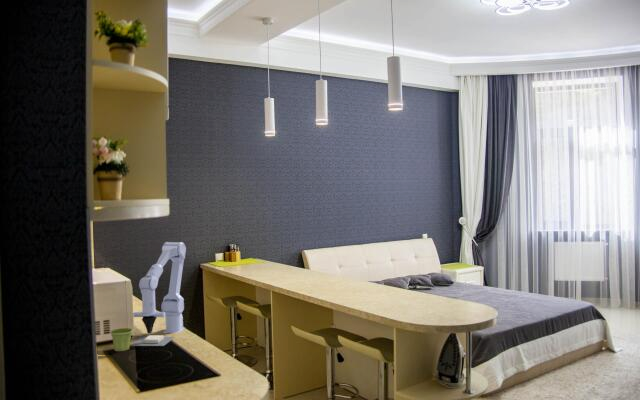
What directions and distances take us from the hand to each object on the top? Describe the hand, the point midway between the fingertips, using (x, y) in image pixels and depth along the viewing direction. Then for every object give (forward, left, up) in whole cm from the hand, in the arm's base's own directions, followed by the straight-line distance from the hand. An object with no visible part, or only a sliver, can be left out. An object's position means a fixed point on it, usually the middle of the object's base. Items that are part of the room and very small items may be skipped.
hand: (149, 332), depth 250 cm
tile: (0, -2, -3) cm, 3 cm away
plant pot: (+12, -8, -5) cm, 15 cm away
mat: (0, +1, -5) cm, 5 cm away
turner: (-8, -7, -5) cm, 12 cm away
